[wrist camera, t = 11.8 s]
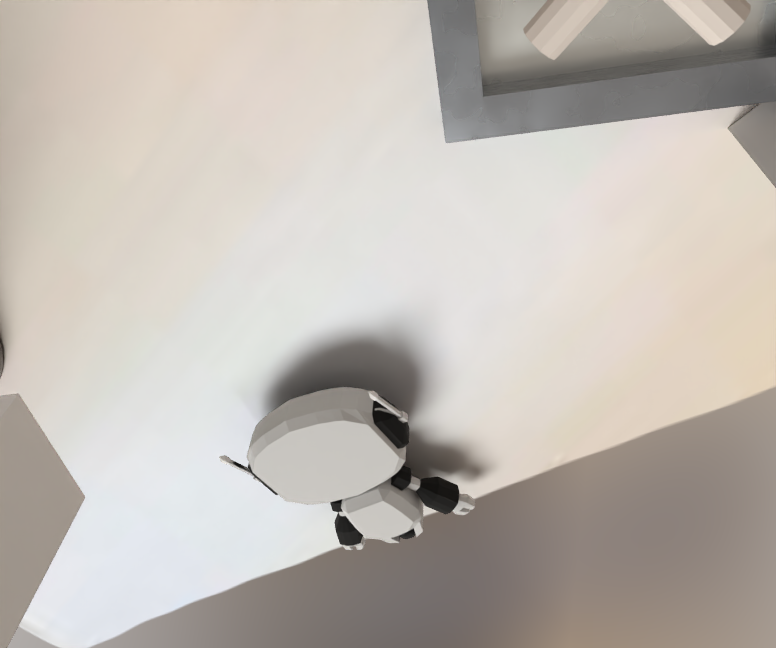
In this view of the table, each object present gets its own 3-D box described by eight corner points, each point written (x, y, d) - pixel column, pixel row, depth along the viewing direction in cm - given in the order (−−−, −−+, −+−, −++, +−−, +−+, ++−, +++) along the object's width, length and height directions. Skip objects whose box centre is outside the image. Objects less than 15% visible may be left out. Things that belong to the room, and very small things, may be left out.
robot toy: (484, 474, 52) (370, 343, 44) (488, 527, 49) (365, 394, 41) (349, 523, 57) (225, 411, 49) (344, 574, 53) (209, 462, 46)
